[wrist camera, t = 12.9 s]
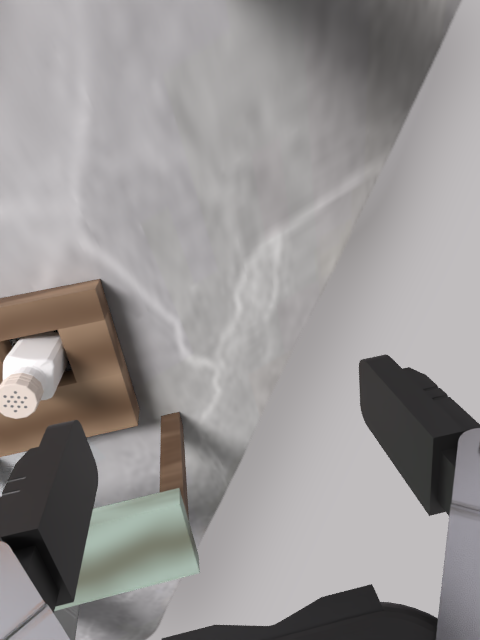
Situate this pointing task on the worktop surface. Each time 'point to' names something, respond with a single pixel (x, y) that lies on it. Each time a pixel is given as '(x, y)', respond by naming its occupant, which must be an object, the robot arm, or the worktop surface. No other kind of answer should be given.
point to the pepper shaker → (31, 373)
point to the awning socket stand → (98, 418)
